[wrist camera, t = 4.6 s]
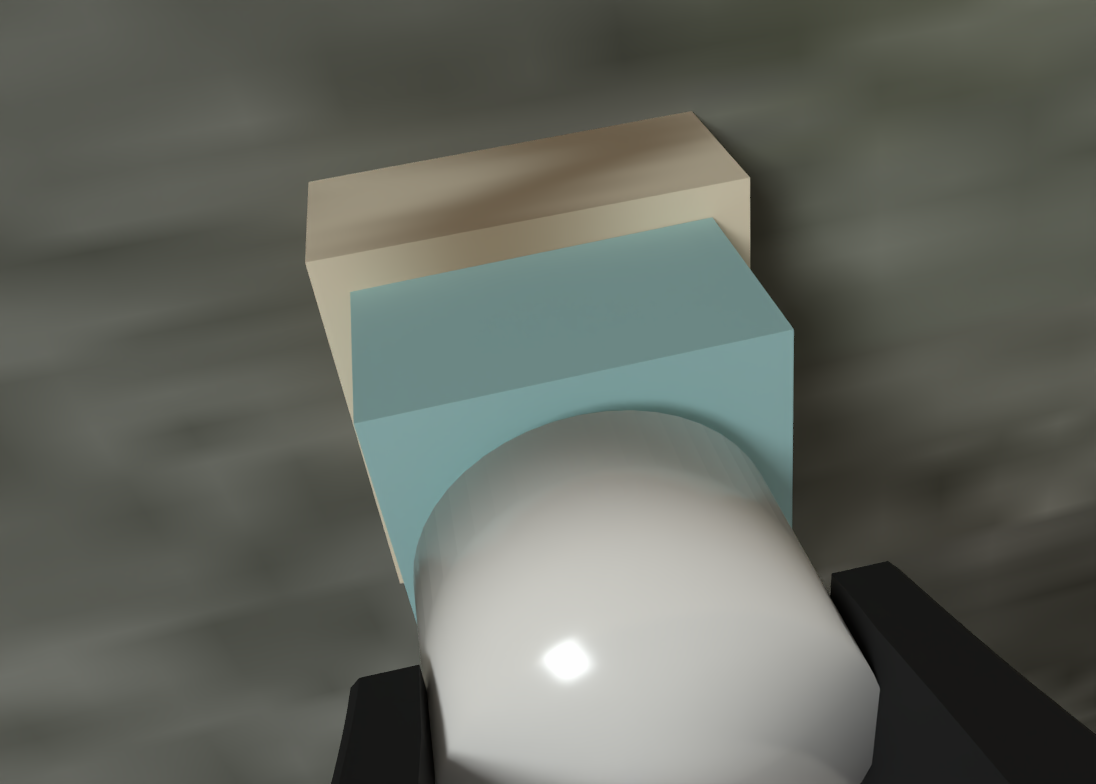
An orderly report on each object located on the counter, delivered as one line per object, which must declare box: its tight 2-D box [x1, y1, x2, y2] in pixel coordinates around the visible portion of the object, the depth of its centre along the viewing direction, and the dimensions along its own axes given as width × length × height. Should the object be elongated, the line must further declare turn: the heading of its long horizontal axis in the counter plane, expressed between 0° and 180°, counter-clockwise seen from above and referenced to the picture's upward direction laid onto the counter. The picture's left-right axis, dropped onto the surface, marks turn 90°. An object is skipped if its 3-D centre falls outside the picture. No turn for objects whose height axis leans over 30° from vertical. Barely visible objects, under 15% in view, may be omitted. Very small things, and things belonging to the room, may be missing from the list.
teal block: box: [350, 217, 794, 622], centre depth 14 cm, size 5×5×3 cm
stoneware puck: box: [413, 410, 880, 784], centre depth 11 cm, size 4×4×3 cm
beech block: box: [305, 111, 750, 583], centre depth 16 cm, size 6×6×3 cm
